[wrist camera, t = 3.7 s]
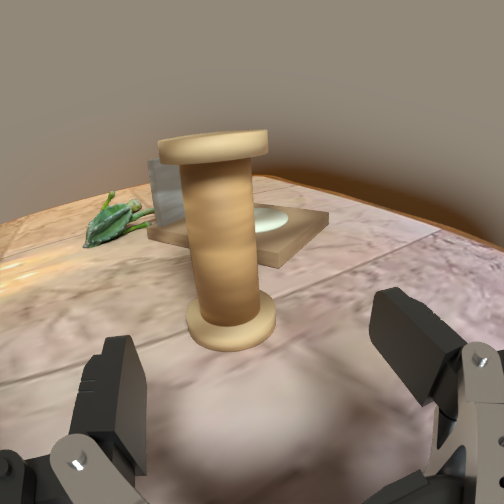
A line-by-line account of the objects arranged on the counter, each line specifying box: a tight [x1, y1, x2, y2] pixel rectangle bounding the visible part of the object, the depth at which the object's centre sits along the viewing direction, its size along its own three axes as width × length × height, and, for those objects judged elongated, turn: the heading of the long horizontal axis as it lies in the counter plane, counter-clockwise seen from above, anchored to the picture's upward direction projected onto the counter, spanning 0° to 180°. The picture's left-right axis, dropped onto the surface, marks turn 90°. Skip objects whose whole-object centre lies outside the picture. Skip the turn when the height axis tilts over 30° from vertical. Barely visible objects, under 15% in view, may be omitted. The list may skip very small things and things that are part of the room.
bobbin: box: [158, 130, 276, 352], centre depth 19 cm, size 6×6×12 cm
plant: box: [83, 191, 155, 248], centre depth 43 cm, size 15×16×6 cm
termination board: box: [146, 158, 329, 268], centre depth 36 cm, size 18×13×10 cm
